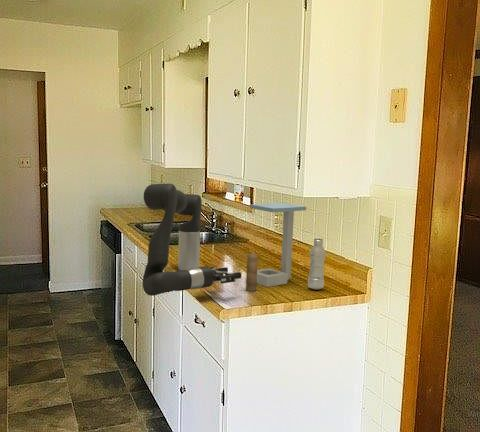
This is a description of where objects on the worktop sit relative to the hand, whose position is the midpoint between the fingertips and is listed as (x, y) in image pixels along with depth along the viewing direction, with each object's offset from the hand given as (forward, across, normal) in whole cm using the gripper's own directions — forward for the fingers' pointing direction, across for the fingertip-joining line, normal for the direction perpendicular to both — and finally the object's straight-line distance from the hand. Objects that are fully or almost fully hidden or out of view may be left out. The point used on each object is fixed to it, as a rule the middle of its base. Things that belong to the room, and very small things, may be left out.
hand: (233, 272), depth 196 cm
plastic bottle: (+32, -12, +8) cm, 35 cm away
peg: (+9, 0, +8) cm, 12 cm away
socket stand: (+26, +6, +8) cm, 28 cm away
